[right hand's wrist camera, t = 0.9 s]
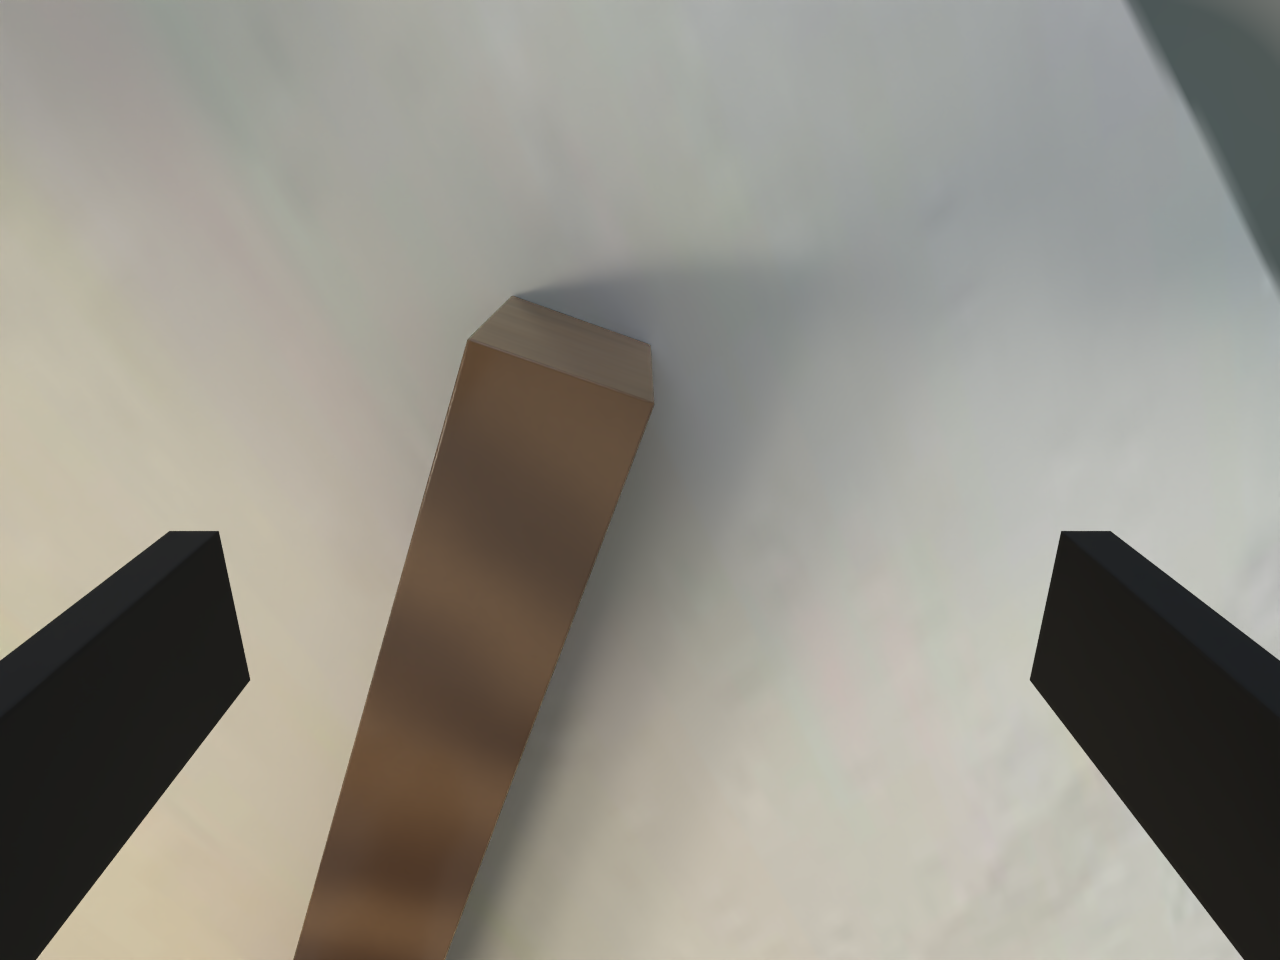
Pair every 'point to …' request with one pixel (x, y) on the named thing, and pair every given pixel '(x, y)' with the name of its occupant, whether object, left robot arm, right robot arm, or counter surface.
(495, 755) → the bar
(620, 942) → the counter surface
